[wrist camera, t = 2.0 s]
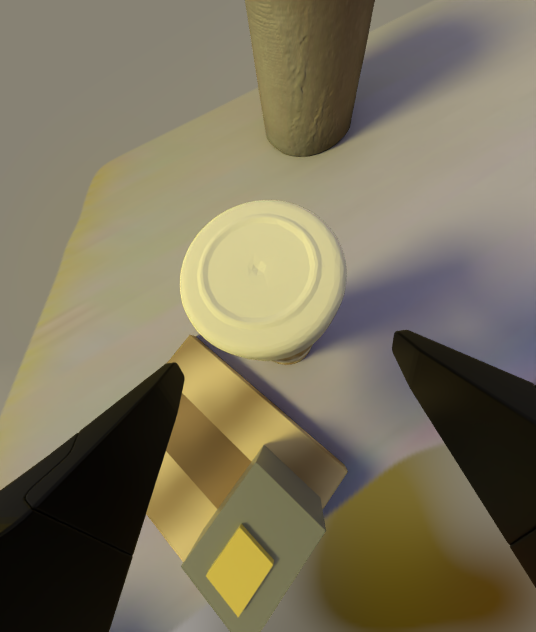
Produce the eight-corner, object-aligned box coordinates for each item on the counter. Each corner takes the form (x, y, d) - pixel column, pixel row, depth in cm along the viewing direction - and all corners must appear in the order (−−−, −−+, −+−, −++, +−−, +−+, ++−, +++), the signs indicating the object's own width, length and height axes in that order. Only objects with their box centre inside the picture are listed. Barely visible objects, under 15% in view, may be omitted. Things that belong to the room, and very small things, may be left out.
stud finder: (320, 497, 14) (326, 534, 11) (258, 592, 13) (245, 661, 10) (263, 444, 15) (254, 464, 12) (204, 527, 15) (178, 571, 12)
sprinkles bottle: (257, 360, 18) (151, 342, 5) (266, 310, 19) (195, 190, 6) (310, 369, 17) (342, 374, 4) (316, 316, 18) (357, 193, 5)
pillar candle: (353, 89, 24) (428, -330, 10) (348, 156, 22) (438, -257, 7) (270, 98, 26) (230, -243, 11) (258, 160, 24) (190, -164, 9)
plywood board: (344, 465, 15) (347, 471, 14) (243, 617, 14) (239, 635, 13) (195, 336, 19) (189, 334, 18) (107, 445, 18) (96, 449, 17)
